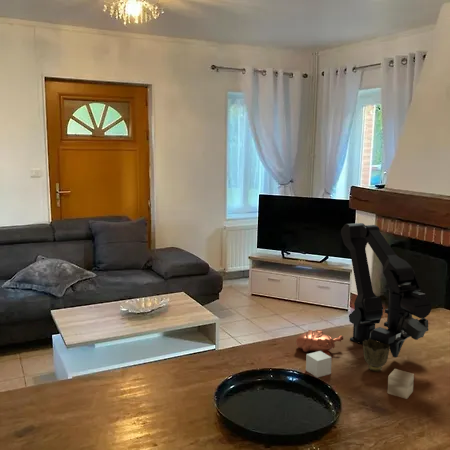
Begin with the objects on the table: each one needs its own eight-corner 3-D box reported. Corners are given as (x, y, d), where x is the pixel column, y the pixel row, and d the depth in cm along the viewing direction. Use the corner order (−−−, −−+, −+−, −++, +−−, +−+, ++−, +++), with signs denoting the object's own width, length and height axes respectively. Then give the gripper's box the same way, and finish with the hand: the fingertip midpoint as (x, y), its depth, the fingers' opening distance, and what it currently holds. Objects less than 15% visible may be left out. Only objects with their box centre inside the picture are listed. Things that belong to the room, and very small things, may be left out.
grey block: (305, 370, 143) (306, 354, 142) (319, 367, 145) (320, 350, 144) (316, 377, 138) (317, 360, 137) (331, 374, 141) (331, 357, 140)
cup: (358, 371, 142) (360, 345, 140) (364, 361, 148) (365, 336, 147) (385, 377, 138) (387, 350, 137) (390, 367, 145) (392, 341, 143)
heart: (305, 340, 149) (349, 336, 153) (288, 329, 160) (330, 325, 164) (304, 359, 149) (349, 355, 153) (288, 347, 161) (330, 343, 165)
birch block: (387, 393, 130) (388, 375, 129) (393, 386, 134) (394, 368, 133) (406, 399, 127) (408, 381, 126) (412, 391, 131) (414, 373, 130)
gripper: (404, 321, 135) (401, 375, 137) (440, 307, 146) (437, 357, 148) (370, 310, 143) (367, 361, 146) (406, 298, 155) (403, 346, 157)
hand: (395, 357), depth 149 cm, fingers closed
